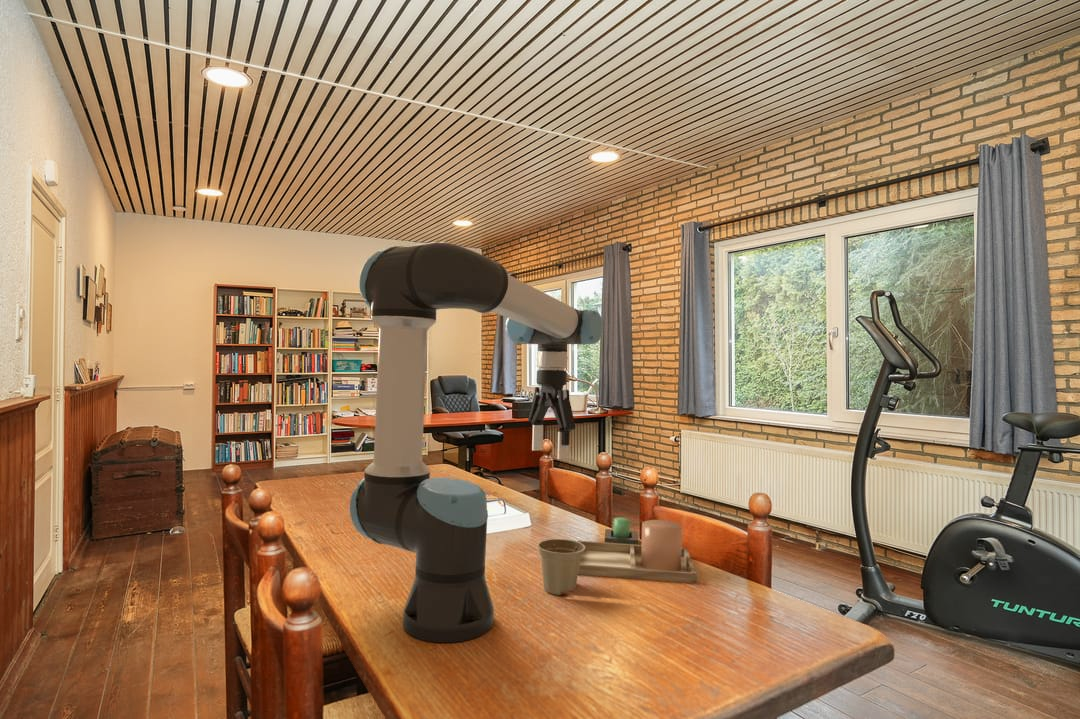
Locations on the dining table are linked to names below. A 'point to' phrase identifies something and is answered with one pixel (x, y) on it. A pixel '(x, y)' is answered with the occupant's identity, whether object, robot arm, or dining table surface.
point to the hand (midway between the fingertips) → (549, 454)
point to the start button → (621, 527)
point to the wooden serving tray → (629, 563)
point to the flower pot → (560, 564)
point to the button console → (621, 538)
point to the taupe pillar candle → (661, 545)
